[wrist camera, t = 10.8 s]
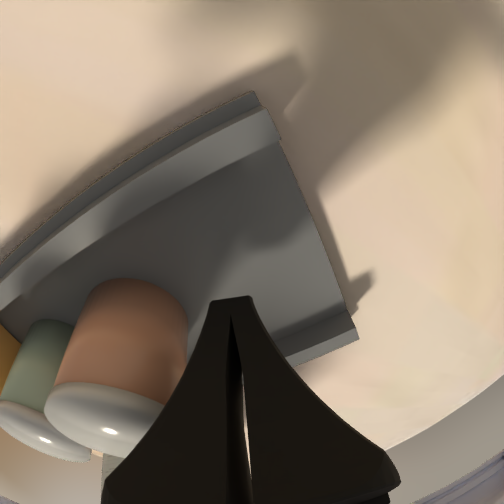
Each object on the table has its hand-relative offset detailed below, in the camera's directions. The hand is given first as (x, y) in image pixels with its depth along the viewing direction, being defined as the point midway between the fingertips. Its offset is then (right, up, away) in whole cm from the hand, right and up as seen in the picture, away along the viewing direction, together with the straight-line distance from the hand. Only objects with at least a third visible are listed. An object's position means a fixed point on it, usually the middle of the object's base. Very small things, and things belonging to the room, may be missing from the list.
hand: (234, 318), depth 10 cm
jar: (-5, -1, +3) cm, 6 cm away
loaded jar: (-10, -3, +4) cm, 11 cm away
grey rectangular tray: (-9, -2, +4) cm, 10 cm away
